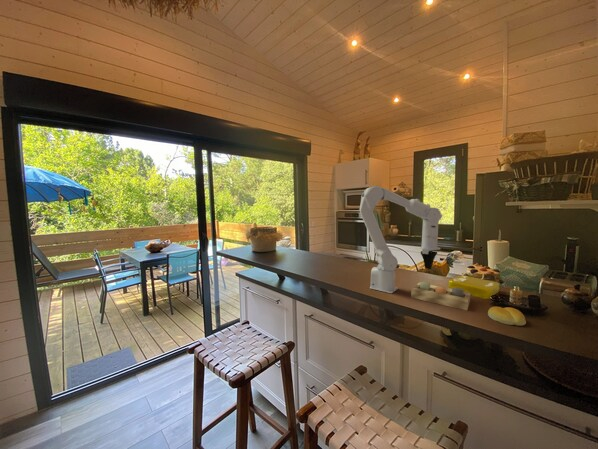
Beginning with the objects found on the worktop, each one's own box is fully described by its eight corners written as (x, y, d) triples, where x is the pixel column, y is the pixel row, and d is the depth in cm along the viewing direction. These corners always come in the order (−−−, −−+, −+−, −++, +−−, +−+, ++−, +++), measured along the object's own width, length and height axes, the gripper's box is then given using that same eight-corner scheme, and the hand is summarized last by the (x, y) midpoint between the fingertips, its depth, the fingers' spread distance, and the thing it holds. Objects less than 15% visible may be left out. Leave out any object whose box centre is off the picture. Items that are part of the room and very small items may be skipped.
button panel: (411, 297, 94) (411, 290, 94) (418, 289, 103) (419, 282, 103) (467, 310, 83) (467, 301, 83) (470, 300, 92) (470, 292, 92)
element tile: (489, 301, 92) (490, 289, 92) (446, 290, 104) (447, 279, 104) (499, 292, 102) (500, 281, 101) (459, 283, 113) (459, 273, 113)
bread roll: (483, 313, 82) (484, 301, 81) (515, 316, 79) (516, 304, 79) (495, 324, 74) (496, 311, 73) (531, 328, 71) (532, 315, 71)
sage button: (418, 291, 96) (419, 283, 96) (420, 289, 99) (421, 281, 99) (428, 294, 94) (429, 285, 94) (430, 291, 97) (431, 283, 97)
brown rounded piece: (434, 297, 93) (434, 288, 93) (435, 295, 96) (436, 286, 95) (444, 300, 91) (445, 291, 90) (446, 297, 93) (447, 288, 93)
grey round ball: (451, 298, 89) (451, 289, 89) (452, 296, 92) (453, 287, 92) (462, 301, 87) (463, 291, 87) (463, 298, 90) (464, 289, 90)
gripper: (437, 239, 92) (435, 273, 94) (443, 235, 104) (442, 266, 105) (417, 237, 97) (415, 270, 98) (425, 234, 108) (424, 264, 109)
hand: (428, 268), depth 102 cm, fingers closed
